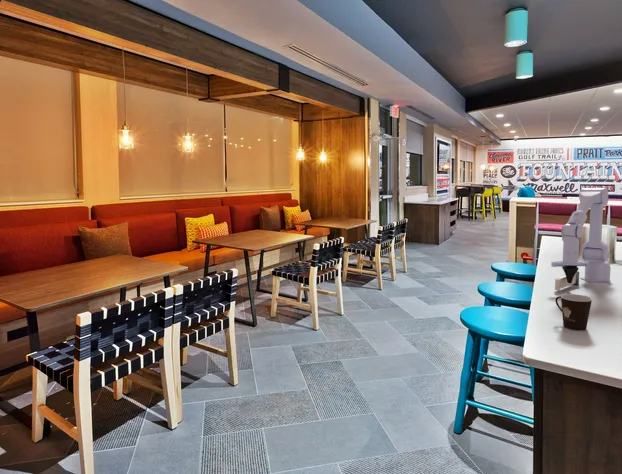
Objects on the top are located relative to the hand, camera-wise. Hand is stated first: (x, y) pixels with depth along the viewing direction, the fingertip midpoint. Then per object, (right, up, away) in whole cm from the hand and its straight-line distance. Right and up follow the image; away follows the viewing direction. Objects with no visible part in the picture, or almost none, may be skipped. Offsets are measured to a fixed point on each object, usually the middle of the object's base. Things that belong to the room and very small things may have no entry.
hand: (569, 282), depth 179 cm
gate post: (+9, -1, +12) cm, 16 cm away
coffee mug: (-24, -10, -41) cm, 49 cm away
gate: (+1, -2, +4) cm, 5 cm away
